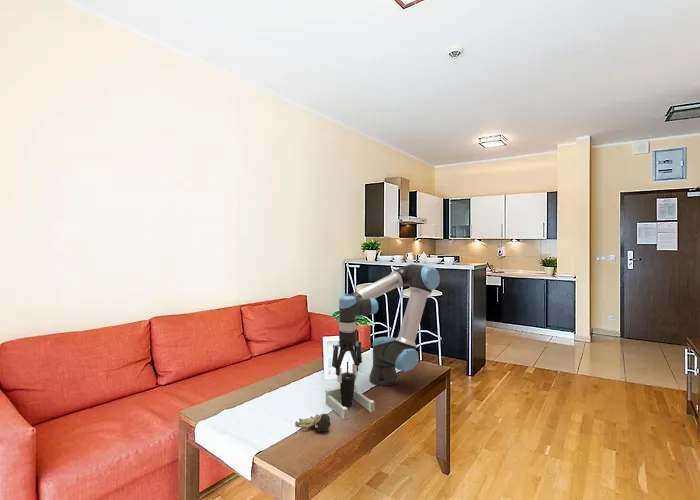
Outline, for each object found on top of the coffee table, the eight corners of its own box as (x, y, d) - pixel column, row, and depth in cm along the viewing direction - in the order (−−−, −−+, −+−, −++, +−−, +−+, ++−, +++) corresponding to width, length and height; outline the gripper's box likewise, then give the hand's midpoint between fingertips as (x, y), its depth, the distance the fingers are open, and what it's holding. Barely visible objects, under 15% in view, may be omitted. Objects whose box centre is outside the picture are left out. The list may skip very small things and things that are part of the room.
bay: (354, 396, 181) (354, 384, 181) (374, 411, 166) (374, 398, 166) (325, 403, 174) (325, 390, 173) (343, 419, 158) (343, 405, 158)
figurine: (301, 410, 159) (332, 410, 152) (304, 425, 158) (335, 426, 152) (290, 418, 152) (322, 418, 145) (293, 434, 151) (325, 435, 145)
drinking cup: (353, 409, 167) (354, 365, 166) (336, 408, 169) (337, 364, 168) (356, 402, 175) (357, 359, 174) (340, 400, 176) (341, 358, 175)
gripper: (362, 326, 178) (361, 373, 179) (323, 331, 169) (323, 381, 170) (370, 329, 172) (370, 379, 173) (331, 335, 162) (330, 387, 163)
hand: (347, 380), depth 171 cm, fingers closed on drinking cup, 7 cm apart
